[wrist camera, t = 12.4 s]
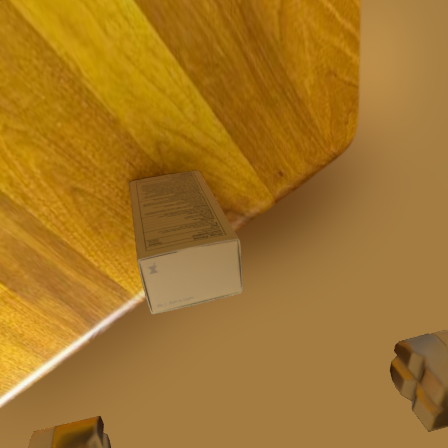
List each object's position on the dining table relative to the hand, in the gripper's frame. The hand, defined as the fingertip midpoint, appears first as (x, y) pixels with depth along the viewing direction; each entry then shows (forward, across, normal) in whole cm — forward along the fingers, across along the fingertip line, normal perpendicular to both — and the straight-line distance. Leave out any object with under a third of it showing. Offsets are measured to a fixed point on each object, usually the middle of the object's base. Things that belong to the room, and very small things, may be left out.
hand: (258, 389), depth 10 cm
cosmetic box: (+24, 0, +5) cm, 25 cm away
